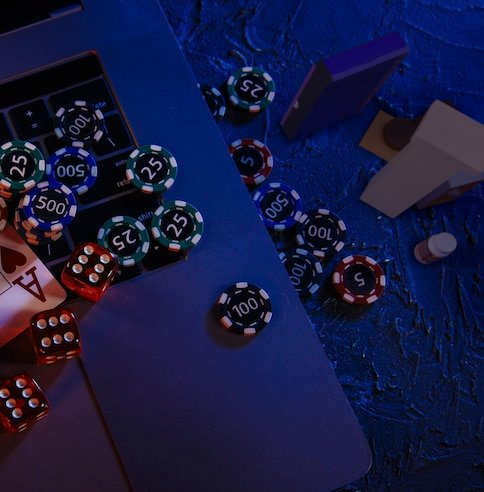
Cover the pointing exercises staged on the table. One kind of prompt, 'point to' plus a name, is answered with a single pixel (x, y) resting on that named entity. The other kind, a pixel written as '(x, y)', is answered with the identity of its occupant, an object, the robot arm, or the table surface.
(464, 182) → the small box
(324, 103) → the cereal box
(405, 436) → the table surface
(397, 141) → the paddle
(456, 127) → the stand
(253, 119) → the table surface
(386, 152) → the mat
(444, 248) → the pill bottle
